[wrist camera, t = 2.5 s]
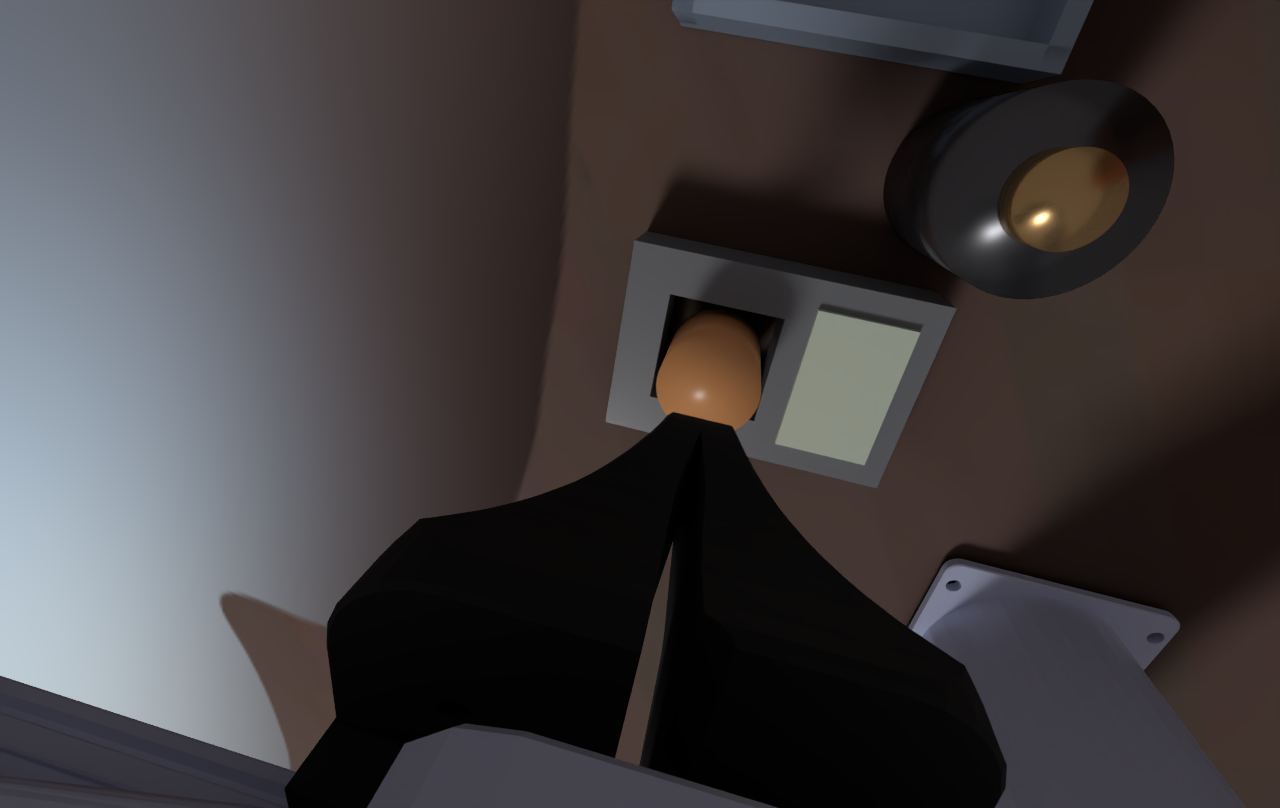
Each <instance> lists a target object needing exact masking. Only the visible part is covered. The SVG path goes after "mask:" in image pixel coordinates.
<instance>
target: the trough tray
mask: <svg viewBox="0 0 1280 808" xmlns="http://www.w3.org/2000/svg"><path fill="white" fill-rule="evenodd" d="M1093 1H1094V0H673V4H672V11H673V12H674V14H675V16H676V17H677V19H678V21H679V22H680V24H681V26H686V27H691V28H697V29H703V30H709V31H715V32H721V33H727V34H732V35H738V36H744V37H750V38H756V39H762V40H768V41H774V42H779V43H785V44H791V45H797V46H803V47H809V48H815V49H820V50H826V51H832V52H838V53H844V54H850V55H856V56H862V57H867V58H873V59H879V60H885V61H891V62H897V63H903V64H909V65H914V66H920V67H926V68H932V69H938V70H944V71H950V72H955V73H961V74H967V75H973V76H979V77H985V78H991V79H997V80H1002V81H1008V82H1014V83H1020V84H1024V83H1028V82H1032V81H1036V80H1040V79H1044V78H1048V77H1052V76H1057V75H1061V73H1062V71H1063V69H1064V66H1065V64H1066V62H1067V60H1068V57H1069V55H1070V53H1071V51H1072V48H1073V46H1074V44H1075V42H1076V39H1077V37H1078V35H1079V33H1080V30H1081V28H1082V26H1083V24H1084V21H1085V19H1086V17H1087V15H1088V12H1089V10H1090V8H1091V6H1092V3H1093Z"/></svg>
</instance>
